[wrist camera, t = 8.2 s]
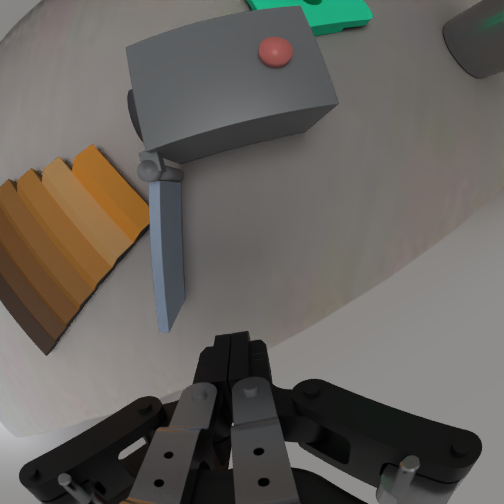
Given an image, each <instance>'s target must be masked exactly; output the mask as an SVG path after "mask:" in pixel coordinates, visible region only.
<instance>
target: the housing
mask: <svg viewBox="0 0 504 504" xmlns="http://www.w3.org/2000/svg"><path fill="white" fill-rule="evenodd" d="M126 53H127V60H128V66H129V72H130V78H131V83H132V89H131V90H129V92H128V97H127V101H128V109H129V113H130V117H131V120H132V123H133V126H134V128H135V130H136V132H137V134H138V136H139V138H140V139H141V140H142V141H143V142H144V146H145V150H146V151H143V152H140V153H139V157H140V161H141V163H140V164H139V166H138V170H137V173H138V176H139V178H140V179H141V180H143V181H148V182H154V181H157V180H159V179H160V178H161V176H162V174H163V172H166V168H165V164H164V160H163V158H165V159H168V160H171V161H174V162H176V163H179V164H182V163H185V162H189V161H192V160H195V159H198V158H202V157H205V156H209V155H212V154H215V153H219V152H223V151H226V150H230V149H234V148H237V147H241V146H245V145H249V144H253V143H257V142H262V141H266V140H270V139H275V138H279V137H284V136H288V135H293V134H298V133H303V132H306V131H307V130H308V129H309V128H310V127H312V126H313V125H314V124H315V123H316V122H317V121H319V120H320V119H321V118H322V117H323V116H325V115H326V114H327V113H328V112H329V111H331V110H332V109H333V108H334V107H335V106H337V105H338V104H339V102H338V99H337V96H336V93H335V90H334V87H333V84H332V81H331V78H330V76H329V73H328V70H327V67H326V65H325V62H324V59H323V57H322V54H321V52H320V49H319V47H318V44H317V42H316V39H315V37H314V34H313V32H312V30H311V27H310V25H309V23H308V21H307V18H306V16H305V14H304V12H303V10H302V8H301V6H287V7H277V8H268V9H261V10H254V11H248V12H242V13H236V14H231V15H226V16H222V17H217V18H213V19H209V20H205V21H201V22H197V23H194V24H190V25H186V26H183V27H180V28H177V29H173V30H170V31H167V32H164V33H161V34H159V35H156V36H153V37H150V38H148V39H145V40H142V41H140V42H137V43H135V44H132V45H130V46H128V47H126Z"/></svg>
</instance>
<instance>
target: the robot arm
mask: <svg viewBox="0 0 504 504" xmlns="http://www.w3.org/2000/svg"><path fill="white" fill-rule="evenodd" d="M443 34H444V38H445V41H446V44H447V46H448V48H449V50H450V52H451V53H452V55H453V56H454V58H455V59H456V60H457V62H458V63H459V64H460V65H461V66H462V67H463V68H464V69H465V70H466V71H467V72H468V73H469V74H471V75H472V76H474V77H477V78H484V77H487V76H490V75H494V74H497V73H500V72H503V71H504V0H482V1H480V2H479V3H477V4H475V5H474V6H472V7H471V8H469V9H467V10H466V11H464V12H463V13H461V14H459V15H458V16H456V17H455V18H453V19H452V20H450V21H449V22H447V23H446V24H445V25H444V28H443ZM232 423H234V426H232ZM142 437H143V438H144V440H145V441H146V444H145V445H143V446H142V447H140V448H139V449H137V450H136V451H134V452H133V453H131V454H130V455H128V456H127V457H126V458H124V459H121V460H119V459H118V456H119V453H120V452H121V451H122V450H124V449H125V448H127V447H128V446H130V445H131V444H133V443H134V442H135V441H137V440H139V439H140V438H142ZM284 441H287V442H298V444H299V445H300V447H302V448H303V449H304V450H306V451H308V452H309V453H311V454H313V455H315V456H316V457H318V458H320V459H322V460H323V461H325V462H327V463H328V464H330V465H332V466H334V467H336V468H338V469H340V470H342V471H343V472H345V473H347V474H349V475H351V476H353V477H355V478H357V479H359V480H361V481H363V482H365V483H368V484H369V485H372V486H374V487H376V488H377V490H376V499H377V501H378V502H379V504H447V502H448V500H449V499H450V497H451V495H452V494H453V492H454V491H455V490H456V488H457V487H458V486H459V485H460V483H461V482H462V481H463V479H464V478H465V477H466V475H467V474H468V472H469V471H470V470H471V468H472V467H473V465H474V464H475V462H476V461H477V459H478V458H479V456H480V454H481V451H482V443H481V440H480V439H479V437H478V436H477V435H476V434H475V433H473V432H471V431H468V430H463V429H460V428H456V427H453V426H449V425H446V424H442V423H439V422H435V421H432V420H429V419H426V418H423V417H419V416H416V415H413V414H410V413H407V412H404V411H401V410H398V409H396V408H393V407H390V406H387V405H384V404H382V403H379V402H376V401H374V400H371V399H368V398H365V397H363V396H360V395H358V394H355V393H353V392H350V391H348V390H345V389H343V388H341V387H338V386H335V385H333V384H331V383H329V382H326V381H324V380H320V379H308V380H305V381H302V382H300V383H298V384H297V385H296V386H295V387H294V388H293V390H291V389H289V390H288V389H282V388H279V387H276V386H275V385H273V384H272V376H271V369H270V364H269V358H268V353H267V347H266V344H265V343H264V342H263V341H262V340H261V339H260V340H254V341H250V336H249V332H248V331H244V332H237V333H232V334H224V335H216V336H215V341H214V346H212V347H206V348H205V349H204V350H203V351H202V352H201V353H200V357H199V362H198V365H197V369H196V373H195V377H194V381H193V385H190V386H189V387H187V388H186V389H185V390H184V391H183V392H182V394H181V397H180V399H179V400H178V401H175V402H171V403H167V404H163V405H162V403H161V401H160V400H159V399H158V398H156V397H152V396H146V397H142V398H139V399H137V400H135V401H134V402H132V403H130V404H129V405H127V406H126V407H124V408H122V409H121V410H119V411H118V412H116V413H114V414H113V415H111V416H110V417H108V418H106V419H105V420H103V421H101V422H100V423H98V424H96V425H95V426H93V427H91V428H90V429H88V430H86V431H85V432H83V433H81V434H80V435H78V436H76V437H74V438H72V439H71V440H69V441H67V442H66V443H64V444H62V445H60V446H58V447H57V448H55V449H53V450H51V451H49V452H47V453H45V454H43V455H42V456H40V457H38V458H36V459H34V460H32V461H30V462H28V463H27V464H25V465H24V466H23V467H22V469H21V470H20V473H19V479H20V482H21V483H22V484H23V486H25V487H26V488H27V489H28V490H29V491H30V492H31V493H32V494H33V495H34V496H35V497H36V498H37V499H38V500H39V501H40V502H41V503H42V504H368V503H366V502H364V501H362V500H360V499H358V498H357V497H355V496H353V495H351V494H349V493H348V492H346V491H344V490H342V489H341V488H339V487H337V486H336V485H334V484H332V483H331V482H329V481H328V480H326V479H325V478H323V477H321V476H319V475H317V474H315V473H313V472H310V471H307V470H303V469H299V468H292V467H291V466H290V462H289V458H288V454H287V450H286V446H285V442H284ZM231 447H232V460H233V468H232V469H228V467H229V460H230V454H231Z"/></svg>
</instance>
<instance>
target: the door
mask: <svg viewBox="0 0 504 504" xmlns="http://www.w3.org/2000/svg"><path fill="white" fill-rule="evenodd" d="M165 168H166V172H163V174H162V176H161V178H160V179H159V180H157V181H159V182H149V217H150V240H151V257H152V270H153V282H154V292H155V302H156V311H157V319H158V327H159V332H165V333H169V332H170V330H171V328H172V326H173V323H174V321H175V319H176V317H177V315H178V313H179V311H180V309H181V307H182V305H183V303H184V301H185V289H184V273H183V252H182V221H181V183H175V182H179V181H181V180H182V178H183V172H182V171H181V170H179V169H176V168H172V167H169V166H165ZM160 181H170V182H160Z"/></svg>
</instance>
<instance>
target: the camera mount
mask: <svg viewBox="0 0 504 504" xmlns="http://www.w3.org/2000/svg"><path fill="white" fill-rule="evenodd" d="M246 1H247V2H248V4H249V5H250V7H251V9H252V10H253V11H254V10H261V9H268V8H277V7H287V6H301V8H302V10H303V12H304V14H305V16H306V18H307V21H308V23H309V25H310V27H311V30H312V32H313V34H314V36H318V35H323V34H329V33H336V32H341V31H342V30H343V28H347V27H356V26H365V25H366V24H367V23H368V22H369V21H370V20H371V19H372V17H373V14H372V12H371V10H370V9H369V8H368V6H367V5H366V3H365V2H364V0H246ZM307 3H308V4H307ZM310 4H311V5H310Z"/></svg>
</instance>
